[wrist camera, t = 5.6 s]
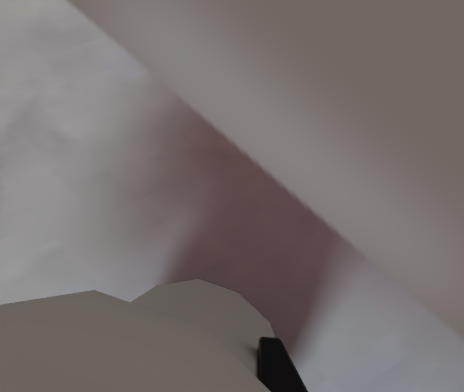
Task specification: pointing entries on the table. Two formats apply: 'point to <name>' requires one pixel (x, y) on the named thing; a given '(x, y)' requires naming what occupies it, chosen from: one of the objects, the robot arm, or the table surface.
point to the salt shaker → (133, 342)
